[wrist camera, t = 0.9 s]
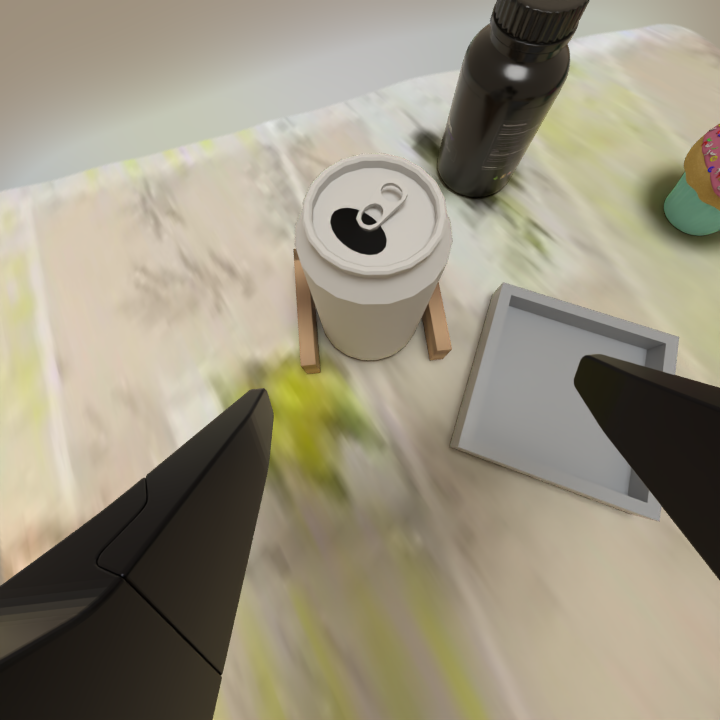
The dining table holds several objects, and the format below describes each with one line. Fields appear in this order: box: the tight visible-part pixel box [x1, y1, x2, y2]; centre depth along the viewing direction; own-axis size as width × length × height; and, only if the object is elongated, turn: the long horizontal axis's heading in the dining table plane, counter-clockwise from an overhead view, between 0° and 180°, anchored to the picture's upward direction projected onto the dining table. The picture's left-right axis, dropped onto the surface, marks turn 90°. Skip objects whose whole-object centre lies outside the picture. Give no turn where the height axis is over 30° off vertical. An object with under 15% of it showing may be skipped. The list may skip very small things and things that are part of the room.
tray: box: [450, 282, 679, 522], centre depth 22 cm, size 13×13×2 cm
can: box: [295, 153, 453, 360], centre depth 19 cm, size 8×8×12 cm
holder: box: [294, 249, 452, 374], centre depth 23 cm, size 9×10×2 cm
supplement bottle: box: [437, 0, 589, 197], centre depth 22 cm, size 7×7×12 cm
